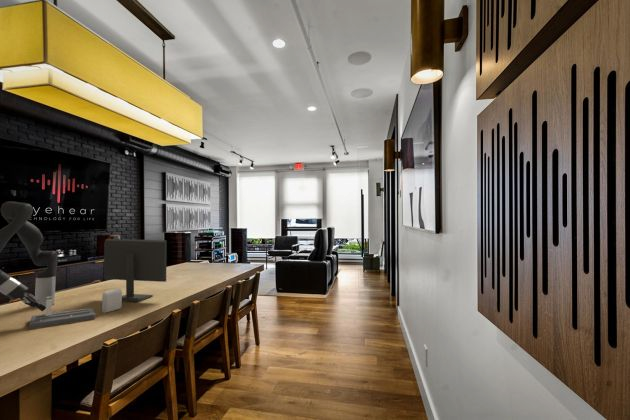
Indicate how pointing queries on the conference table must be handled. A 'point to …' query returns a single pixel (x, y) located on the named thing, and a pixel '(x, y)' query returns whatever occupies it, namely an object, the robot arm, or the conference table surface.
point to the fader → (48, 306)
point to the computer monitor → (135, 263)
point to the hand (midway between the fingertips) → (44, 309)
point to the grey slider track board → (61, 318)
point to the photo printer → (111, 300)
